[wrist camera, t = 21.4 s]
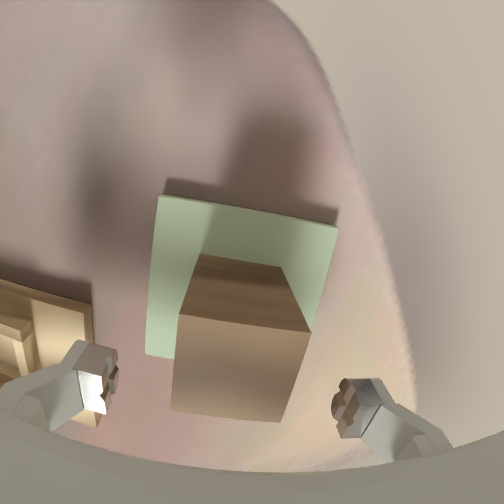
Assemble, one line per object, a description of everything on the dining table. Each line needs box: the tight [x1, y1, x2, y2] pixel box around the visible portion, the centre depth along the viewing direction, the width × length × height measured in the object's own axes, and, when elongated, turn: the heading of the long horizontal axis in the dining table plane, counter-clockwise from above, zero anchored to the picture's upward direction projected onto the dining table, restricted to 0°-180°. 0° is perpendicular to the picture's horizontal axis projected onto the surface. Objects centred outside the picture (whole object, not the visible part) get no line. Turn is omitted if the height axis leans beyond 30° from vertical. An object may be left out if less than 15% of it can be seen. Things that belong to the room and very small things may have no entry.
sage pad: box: [145, 194, 339, 359], centre depth 20 cm, size 11×11×1 cm
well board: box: [0, 279, 101, 428], centre depth 19 cm, size 12×18×4 cm, turn 79°
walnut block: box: [171, 254, 311, 422], centre depth 16 cm, size 5×5×8 cm
